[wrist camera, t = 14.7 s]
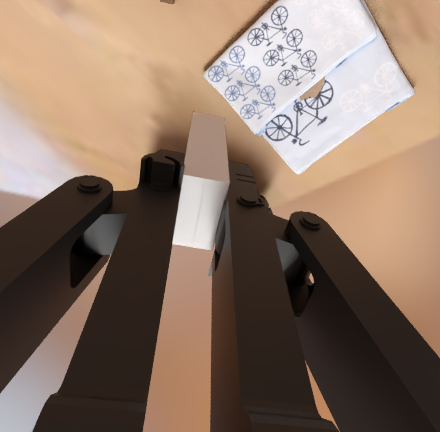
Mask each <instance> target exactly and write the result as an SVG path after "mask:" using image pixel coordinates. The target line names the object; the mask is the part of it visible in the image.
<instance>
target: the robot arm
mask: <svg viewBox="0 0 440 432" xmlns="http://www.w3.org/2000/svg"><path fill="white" fill-rule="evenodd" d="M214 243H215V251H214V255H213V259H212V262H211V266H210V270H209V274H208V276H211V275H212V328H211V329H212V330H211V333H212V334H211V337H212V338H211V415H210V418H211V420H210V432H339V431H340V432H440V358H439V357H438V355H437V354H436V353H435V352H434V351H433V349H431V347H430V346H429V345H428V343H427V342H426V341H425V340H424V339H423V337H422V336H421V335H420V334H419V333H418V331H417V330H416V329H415V328H414V327H413V325H412V324H411V323H410V322H409V321H408V319H407V318H406V317H405V316H404V314H403V313H402V312H401V311H400V310H399V308H398V307H397V306H396V305H395V304H394V302H393V301H392V300H391V299H390V298H389V296H387V294H386V293H385V292H384V290H383V289H382V288H381V287H380V286H379V284H378V283H377V282H376V281H375V280H374V278H373V277H372V276H371V275H370V274H369V272H368V271H367V270H366V269H365V268H364V266H363V265H362V264H361V263H360V262H359V260H358V259H357V258H356V257H355V255H354V254H353V253H352V252H351V251H350V249H349V248H348V247H347V246H346V245H345V244H344V242H343V241H342V240H341V239H340V238H339V236H338V235H337V234H336V233H335V231H334V230H333V229H332V228H331V227H330V225H329V224H328V223H327V222H326V221H324V220H323V219H322V218H320V217H319V216H317V215H316V214H312V213H310V212H302V211H300V212H294V213H292V214H291V216H290V219H289V220H286V219H283V218H280V217H277V216H275V215H273V214H271V213H269V210H268V206H267V203H266V202H265V200H264V199H262V198H261V197H260V196H258V193H257V188H256V183H255V179H254V174H253V170H252V169H251V168H250V167H249V166H248V165H247V164H242V163H237V162H231V161H228V155H227V143H226V130H225V118H223V117H218V116H213V115H208V114H203V113H198V112H193V115H192V120H191V126H190V132H189V138H188V143H187V149H186V154H184V153H179V152H173V151H168V150H163V149H161V150H159V151H157V152H156V153H153V154H148V155H145V156H144V157H143V158H142V159H141V169H140V179H139V184H138V187H137V188H136V189H133V190H128V191H113V186H112V184H111V183H110V182H109V181H108V180H106V179H103V178H101V177H96V176H91V175H90V176H88V175H84V176H79V177H75V178H72V179H70V180H68V181H67V182H65V183H64V184H63V185H61V186H60V187H58V188H57V189H55V190H54V191H52V192H51V193H50V194H48V195H47V196H45V197H44V198H42V199H41V200H40V201H38V202H37V203H35V204H34V205H32V206H31V207H29V208H28V209H27V210H25V211H24V212H22V213H21V214H19V215H18V216H16V217H15V218H14V219H12V220H11V221H9V222H8V223H6V224H5V225H3V226H2V227H1V228H0V393H1V392H2V390H3V389H4V388H5V387H6V385H7V384H8V383H9V382H10V381H11V379H12V378H13V377H14V376H15V375H16V373H17V372H18V371H19V370H20V368H21V367H22V366H23V365H24V363H25V362H26V361H27V360H28V358H29V357H30V356H31V355H32V354H33V352H34V351H35V350H36V349H37V347H38V346H39V345H40V344H41V342H42V341H43V340H44V339H45V338H46V336H47V335H48V334H49V333H50V331H51V330H52V329H53V328H54V326H55V325H56V324H57V323H58V322H59V320H60V319H61V318H62V317H63V315H64V314H65V313H66V312H67V311H68V309H69V308H70V307H71V306H72V304H73V303H74V302H75V301H76V299H77V298H78V297H79V296H80V294H81V293H82V292H83V291H84V290H85V288H86V287H87V286H88V285H89V283H90V282H91V281H92V280H93V279H94V277H95V276H96V275H97V274H98V272H99V271H100V270H101V269H102V267H103V266H104V265H105V264H106V263H107V261H108V259H109V257H110V254H112V255H111V258H110V260H109V263H108V265H107V268H106V271H105V273H104V276H103V278H102V281H101V284H100V286H99V289H98V292H97V294H96V297H95V299H94V302H93V305H92V308H91V310H90V312H89V315H88V318H87V320H86V323H85V326H84V328H83V331H82V333H81V336H80V339H79V341H78V344H77V347H76V349H75V352H74V354H73V357H72V359H71V362H70V365H69V368H68V370H67V373H66V375H65V378H64V381H63V383H62V385H61V387H60V389H59V390H58V392H57V393H54V394H52V395H50V397H49V398H48V400H47V401H46V403H45V405H44V406H43V409H42V411H41V413H40V415H39V417H38V420H37V422H36V425H35V427H34V429H33V432H143V425H144V419H145V413H146V406H147V398H148V392H149V386H150V380H151V374H152V367H153V361H154V355H155V349H156V342H157V335H158V330H159V324H160V317H161V311H162V304H163V298H164V293H165V286H166V280H167V274H168V268H169V261H170V255H171V249H172V244H175V245H182V246H188V247H195V248H201V249H207V250H213V247H214ZM311 273H312V276H313V278H314V283H312V282H311V281H310V279H309V276H310V274H311ZM305 361H306V363H307V365H308V367H309V369H310V371H311V373H312V375H313V377H314V379H315V381H316V383H317V385H318V387H319V390H320V391H321V394H322V396H323V398H324V400H325V402H326V404H327V406H328V408H329V410H330V412H331V414H332V416H333V418H334V420H335V422H336V424H337V426H338V429H339V430H338V429H337V428H336V426H335V425H334V424H333V422H331V421H329V420H326V419H323V418H321V416H320V415H319V413H318V410H317V408H316V404H315V400H314V396H313V392H312V388H311V384H310V379H309V376H308V371H307V367H306V363H305Z"/></svg>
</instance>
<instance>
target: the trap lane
mask: <svg viewBox="0 0 440 432" xmlns="http://www.w3.org/2000/svg"><path fill="white" fill-rule="evenodd" d="M160 2H165V3H169V4H174V3H175V0H160Z"/></svg>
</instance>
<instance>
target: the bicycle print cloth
mask: <svg viewBox="0 0 440 432" xmlns="http://www.w3.org/2000/svg"><path fill="white" fill-rule="evenodd" d="M325 75H326V76H325ZM203 76H204V77H205V79H206V80H207V81H208V82H209V83H210V84H211V85H212V86H213V87H214V88H215V89H216V90H217V91H218V92H219V93H220V94H221V95H222V96H223V97H224V98H225V100H226V101H227V102H228V103H229V104H230V105H231V106H232V107H233V109H234V110H235V111H236V112H237V113H238V115H239V116H240V117H241V118H242V119H243V121H244V122H245V123H246V124H247V126H248V127H249V128H250V130H251V131H252V132H253V134H254V135H256V134H258V138H259V137H260V136H261V135H262V136H263V137H264V138H265V139H266V140H267V141H268V143H269V144H270V145H271V146H272V147H273V148H274V149H275V151H276V152H277V153H278V154H279V155H280V156H281V158H282V159H283V160H284V161H285V162H286V164H287V165H288V166H289V167H290V168H291V169H292V170H293V171H294V172H295V173H296V174H301V173H302V172H303V171H304V170H305V169H307V168H308V167H309V166H310V165H311V164H312V163H314V162H315V161H316V160H318V159H319V158H320V157H322V156H323V155H325V154H326V153H328V152H329V151H330V150H332V149H333V148H334V147H336V146H337V145H339V144H340V143H341V142H343V141H344V140H345V139H347V138H348V137H350V136H351V135H352V134H354V133H355V132H357V131H358V130H359V129H361V128H362V127H363V126H365V125H366V124H368V123H369V122H370V121H372V120H373V119H375V118H376V117H377V116H379V115H380V114H382V113H383V112H388V111H389V110H391V109H392V108H394V107H396V106H397V105H399V104H400V103H402V102H403V101H405V100H407V98H409V97H410V96H412V95H413V94H414V93H415V91H414V88H413V87H412V86H411V84H410V83H409V81H408V80H407V78H406V76H405V75H404V73H403V71H402V70H401V68H400V66H399V65H398V63H397V61H396V59H395V58H394V56H393V54H392V52H391V50H390V48H389V47H388V45H387V43H386V41H385V39H384V37H383V35H382V33H381V32H380V30H379V28H378V26H377V24H376V22H375V20H374V18H373V16H372V14H371V12H370V10H369V9H368V7H367V5H366V3H365V1H364V0H278V1H276V2H275V3H274V4H273V5H272V6H271V7H270V8H269V9H268V10H267V11H266V12H265V13H264V14H263V15H262V16H261V17H260V18H259V19H258V20H257V21H256V22H255V23H254V24H253V25H252V26H251V27H250V28H249V29H248V30H247V31H246V32H245V33H244V34H243V35H242V36H241V37H240V38H239V39H237V40H236V41H235V42H234V43H233V44H232V45H231V46H230V47H229V48H228V49H227V50H226V51H225V52H224V53H223V54H222V55H221V56H220V57H219V58H218V59H217V60H216V61H215V62H214V63H213V64H212V65H211V66H210V67H209V68H208V69H207V70H206V71H205V72H204V73H203ZM324 76H325V82H324V83H323V87H322V89H321V91H320V92H319V94H318V95H317V97H315V98H311V97H309V99H308V98H307V99H303V100H300V98H299V97H300V96H301V95H302V94H303V93H304V92H306V91H307V90H308V89H309V88H311V87H312V86H313V85H314V84H316V83H317V82H318V81H319V80H320V79H322V78H323V77H324ZM387 109H388V110H387ZM386 110H387V111H386Z"/></svg>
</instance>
